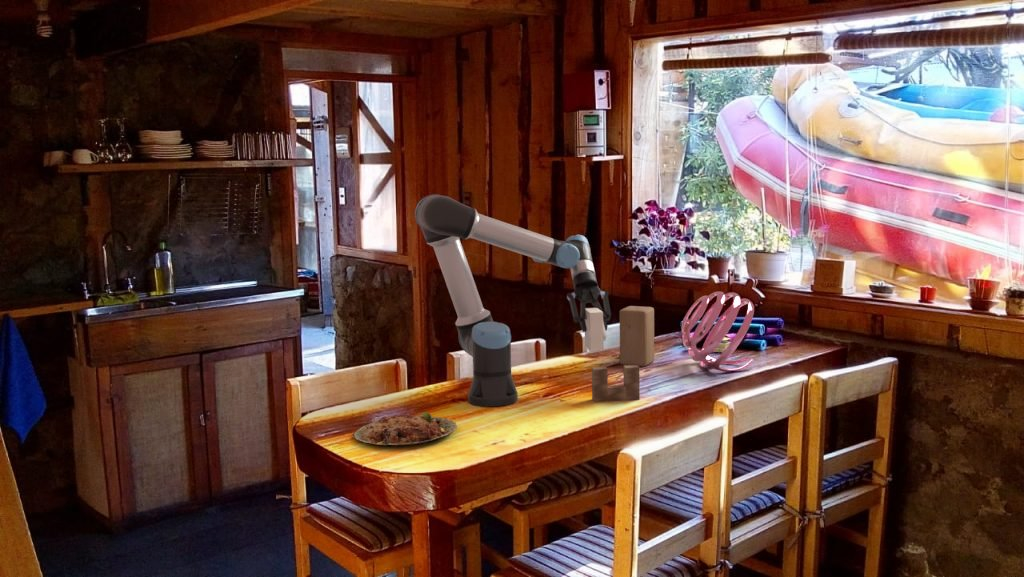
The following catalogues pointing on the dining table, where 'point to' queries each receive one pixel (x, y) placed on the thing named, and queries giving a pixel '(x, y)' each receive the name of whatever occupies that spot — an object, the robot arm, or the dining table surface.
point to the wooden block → (636, 335)
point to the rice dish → (405, 429)
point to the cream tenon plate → (595, 329)
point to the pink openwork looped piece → (715, 330)
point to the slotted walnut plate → (615, 391)
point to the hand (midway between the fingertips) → (597, 339)
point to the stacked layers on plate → (722, 345)
